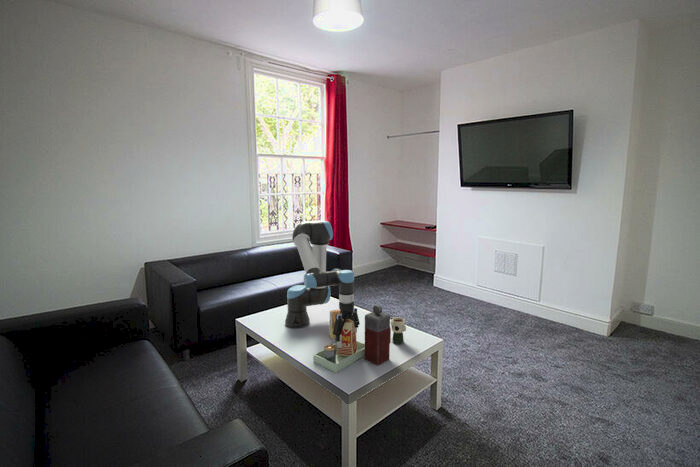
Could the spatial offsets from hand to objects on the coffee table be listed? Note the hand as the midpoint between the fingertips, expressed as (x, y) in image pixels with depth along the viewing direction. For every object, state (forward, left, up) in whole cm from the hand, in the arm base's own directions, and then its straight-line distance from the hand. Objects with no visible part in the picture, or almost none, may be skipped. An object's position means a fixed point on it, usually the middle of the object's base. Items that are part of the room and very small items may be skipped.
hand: (346, 343), depth 175 cm
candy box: (-18, +13, -7) cm, 23 cm away
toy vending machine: (+15, +7, -6) cm, 18 cm away
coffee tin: (0, -12, -6) cm, 13 cm away
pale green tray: (0, -4, -6) cm, 7 cm away
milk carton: (0, 0, -5) cm, 5 cm away
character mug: (+12, +29, -7) cm, 32 cm away
